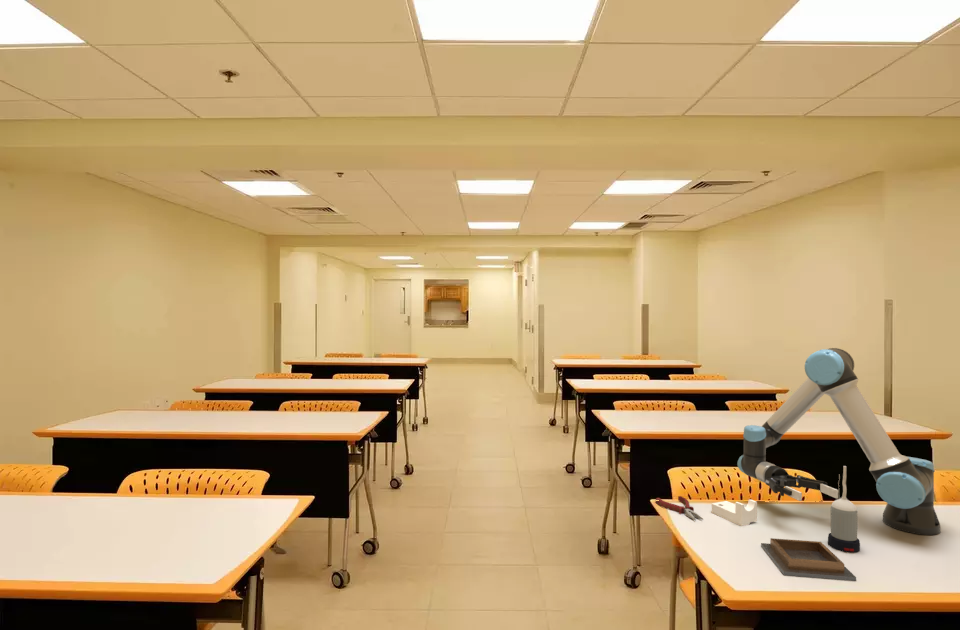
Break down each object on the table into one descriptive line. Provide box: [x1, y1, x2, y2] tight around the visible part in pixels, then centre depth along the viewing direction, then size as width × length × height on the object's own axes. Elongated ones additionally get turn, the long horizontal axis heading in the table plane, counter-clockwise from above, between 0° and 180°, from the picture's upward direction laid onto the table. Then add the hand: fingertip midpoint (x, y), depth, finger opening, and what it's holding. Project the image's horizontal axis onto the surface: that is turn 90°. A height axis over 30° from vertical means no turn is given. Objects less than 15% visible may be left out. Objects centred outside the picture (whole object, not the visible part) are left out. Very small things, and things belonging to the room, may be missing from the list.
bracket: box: [711, 499, 758, 527], centre depth 186 cm, size 13×7×8 cm, turn 22°
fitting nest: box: [760, 537, 857, 582], centre depth 153 cm, size 18×18×4 cm
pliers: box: [655, 495, 704, 521], centre depth 192 cm, size 12×20×3 cm, turn 11°
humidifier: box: [827, 465, 861, 554], centre depth 163 cm, size 8×8×25 cm
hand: (819, 495), depth 172 cm, fingers open, 13 cm apart
